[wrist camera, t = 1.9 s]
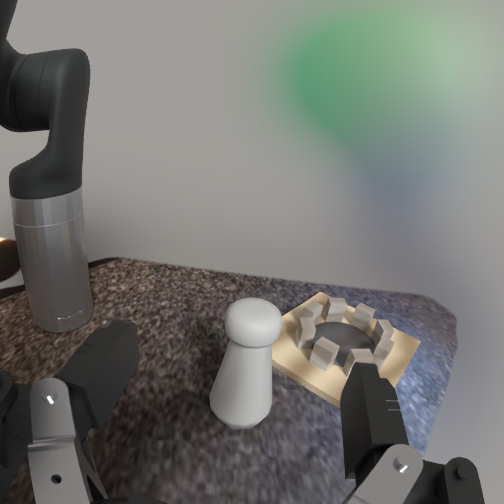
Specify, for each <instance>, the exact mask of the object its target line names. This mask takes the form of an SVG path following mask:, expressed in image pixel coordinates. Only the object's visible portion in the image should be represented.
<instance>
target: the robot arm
mask: <svg viewBox="0 0 504 504" xmlns="http://www.w3.org/2000/svg"><path fill="white" fill-rule="evenodd" d="M16 4H17V0H0V125H1V126H2V127H4V128H6V129H7V130H10V131H13V132H31V131H42V130H50V131H49V137H48V142H47V145H46V147H45V148H44V149H43V150H42V151H41V152H40V153H39V154H37V155H36V156H35V157H33V158H31V159H30V160H27V161H25V162H23V163H21V164H19V165H18V166H16V167H14V168H13V169H12V170H11V172H10V175H9V188H10V197H11V208H12V216H13V223H14V230H15V237H16V243H17V249H18V255H19V260H20V265H21V270H22V275H23V279H24V284H25V288H26V292H27V297H28V301H29V305H30V308H31V312H32V315H33V319H34V321H35V324H36V325H37V326H38V327H39V328H41V329H43V330H45V331H48V332H53V333H62V332H68V331H72V330H75V329H77V328H79V327H81V326H83V325H84V324H86V323H87V322H88V321H89V320H90V318H91V317H92V315H93V312H94V307H93V300H92V294H91V287H90V279H89V271H88V263H87V254H86V244H85V232H84V219H83V203H82V162H83V142H84V127H85V117H86V109H87V101H88V94H89V85H90V64H89V60H88V57H87V55H86V53H85V52H84V51H83V50H81V49H62V50H54V51H47V52H40V53H34V54H28V55H26V54H20V53H18V52H17V51H16V50H14V49H13V48H12V47H11V45H10V44H9V43H8V41H7V40H6V37H7V33H8V30H9V26H10V24H11V20H12V17H13V14H14V11H15V8H16ZM138 362H139V347H138V338H137V329H136V325H135V323H134V322H130V321H126V320H122V319H118V318H115V319H114V320H113V321H112V322H111V323H110V324H109V326H108V327H107V328H106V329H104V328H100V329H98V330H96V331H95V332H93V333H91V334H90V335H89V336H88V337H87V338H86V340H85V341H84V342H83V345H81V346H80V347H79V348H78V349H77V352H75V353H74V354H73V356H72V357H71V358H70V359H69V361H68V362H67V363H66V364H65V366H64V367H63V368H62V369H61V371H60V372H59V373H58V374H57V376H56V377H55V378H45V379H42V380H40V381H38V382H37V383H35V384H34V385H33V386H31V385H25V384H18V383H14V382H13V379H12V377H11V375H10V374H9V373H8V372H6V371H4V370H0V422H1V425H0V504H1V503H2V501H3V499H4V497H5V495H6V493H7V491H8V489H9V487H10V485H11V483H12V481H13V479H14V477H15V475H16V473H17V471H18V469H19V467H20V466H21V464H22V462H23V460H24V458H25V456H26V455H27V453H28V457H29V465H30V472H31V479H32V485H33V490H34V495H35V500H36V504H168V503H166V502H163V501H159V500H156V499H153V498H150V497H146V496H143V495H140V494H137V493H134V492H131V494H130V497H129V498H108V497H107V494H106V492H105V489H104V487H103V485H102V483H101V480H100V478H99V475H98V472H97V468H96V465H95V461H94V458H93V454H92V451H91V447H90V443H89V439H88V435H87V432H88V431H89V429H90V427H93V428H95V429H98V430H100V431H101V430H102V428H103V426H104V424H105V422H106V421H107V419H108V417H109V415H110V413H111V412H112V410H113V408H114V406H115V405H116V403H117V401H118V399H119V397H120V396H121V394H122V392H123V390H124V389H125V387H126V385H127V383H128V382H129V380H130V378H131V377H132V375H133V373H134V371H135V370H136V368H137V365H138ZM397 400H398V399H397V395H396V392H395V388H394V387H393V386H392V384H391V383H390V382H389V380H388V379H387V378H380V375H379V371H378V367H377V365H376V364H375V363H363V362H355V363H354V365H353V367H352V369H351V372H350V374H349V376H348V379H347V381H346V383H345V386H344V388H343V390H342V393H341V398H340V411H341V423H342V435H343V448H344V464H345V479H356V487H355V488H354V489H353V490H352V491H351V493H350V494H349V495H348V496H347V497H346V499H345V500H344V501H343V502H342V503H341V504H485V503H484V498H483V493H482V489H481V484H480V480H479V476H478V472H477V469H476V467H475V465H474V464H473V463H472V462H471V461H470V460H468V459H466V458H462V457H457V458H453V459H451V460H450V461H449V462H448V463H447V464H446V465H443V464H437V463H433V462H429V461H425V460H423V459H422V457H421V455H420V453H419V452H418V451H417V450H416V449H415V448H413V447H411V446H409V443H408V439H407V435H406V430H405V426H404V422H403V418H402V414H401V411H400V406H399V403H398V402H397Z"/></svg>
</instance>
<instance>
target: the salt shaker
mask: <svg viewBox="0 0 504 504" xmlns="http://www.w3.org/2000/svg"><path fill="white" fill-rule="evenodd" d="M281 327H282V316H281V313H280V311H279V310H278V309H277V308H276V307H275V306H274V305H273V304H272V303H270V302H268V301H266V300H263V299H259V298H244V299H240V300H238V301H236V302H234V303H232V304H231V305H230V306H229V308H228V310H227V312H226V315H225V330H226V334H227V336H228V337H229V338H230V341H229V344H228V346H227V349H226V352H225V355H224V358H223V361H222V364H221V366H220V369H219V371H218V374H217V377H216V379H215V382H214V384H213V387H212V390H211V392H210V395H209V397H210V407H211V410H212V411H213V412H214V414H215V415H216V416H217V418H218V419H219V420H221V421H222V422H223V423H224V424H226V425H227V426H228V427H229V428H231V429H232V430H234V429H248V428H252V427H254V426H255V425H256V424H258V423H259V422H260V421H261V420H262V419H264V418H265V417H266V416H267V415H268V413H269V410H270V407H271V404H272V344H273V343H274V342H275V341H276V340H277V339H278V337H279V334H280V331H281Z"/></svg>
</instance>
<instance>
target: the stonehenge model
mask: <svg viewBox="0 0 504 504" xmlns="http://www.w3.org/2000/svg"><path fill="white" fill-rule="evenodd" d="M374 313H375V309H373V308H370V307H368V306H366V305H364V304H362V303H360V304H359V305H358V306H357V307H356V309H354V308H352V307H350V306H348V305H347V303H346V301H345V300H344V298H332V297H330V296H328V295H326V294H324V293H322V292H319V293H318V294H316V295H315V296H313V297H312V298H310V299H309V300H307V301H306V302H304V303H302V304H301V305H299V306H298V307H296V308H295V309H293V310H291V311H290V312H288V313H287V314H285V315H283V316H282V327H281V331H280V334H279V337H278V339H277V340H276V341H275V342H274V343H273V344H272V366H273V367H274V368H276V369H277V370H279V371H280V372H282V373H283V374H285V375H286V376H288V377H290V378H291V379H293V380H294V381H296V382H297V383H299V384H300V385H302V386H304V387H305V388H307V389H308V390H310V391H312V392H313V393H315V394H316V395H318V396H320V397H321V398H323V399H324V400H326V401H328V402H329V403H331V404H333V405H334V406H336V407H338V408H339V409H340V398H341V393H342V390H343V388H344V386H345V383H346V381H347V379H348V376H349V374H350V372H351V369H352V367H353V365H354V363H355V362H363V363H375V364H376V365H377V367H378V371H379V375H380V378H387V379H388V380H389V382H390V383H391V384H392V386H393V387H395V386H396V384H397V383H398V381H399V379H400V378H401V376H402V374H403V372H404V371H405V369H406V367H407V366H408V364H409V362H410V360H411V358H412V357H413V355H414V353H415V351H416V349H417V347H418V346H419V344H420V341H419V340H417V339H415V338H413V337H411V336H409V335H407V334H405V333H403V332H401V331H399V330H397V329H395V328H393V327H392V326H391V324H390V323H389V321H388V320H376V319H374V318H373V315H374Z"/></svg>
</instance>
